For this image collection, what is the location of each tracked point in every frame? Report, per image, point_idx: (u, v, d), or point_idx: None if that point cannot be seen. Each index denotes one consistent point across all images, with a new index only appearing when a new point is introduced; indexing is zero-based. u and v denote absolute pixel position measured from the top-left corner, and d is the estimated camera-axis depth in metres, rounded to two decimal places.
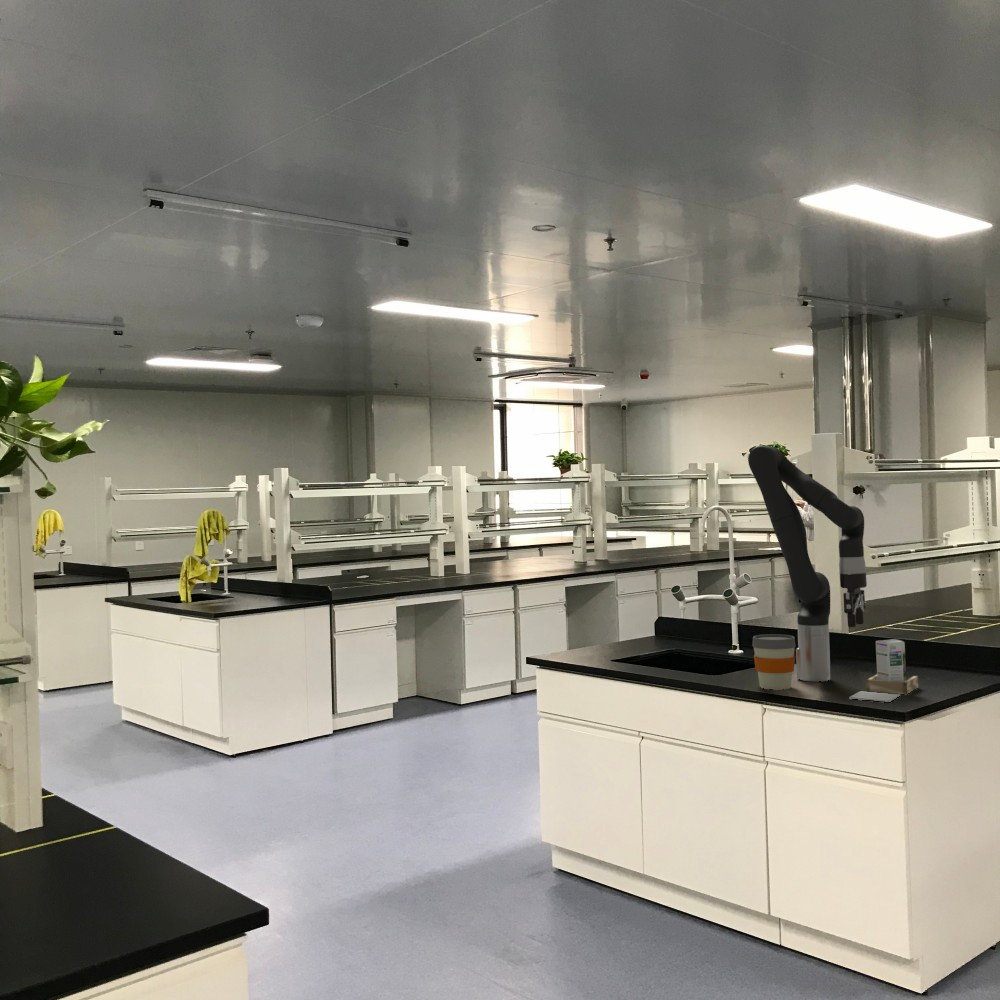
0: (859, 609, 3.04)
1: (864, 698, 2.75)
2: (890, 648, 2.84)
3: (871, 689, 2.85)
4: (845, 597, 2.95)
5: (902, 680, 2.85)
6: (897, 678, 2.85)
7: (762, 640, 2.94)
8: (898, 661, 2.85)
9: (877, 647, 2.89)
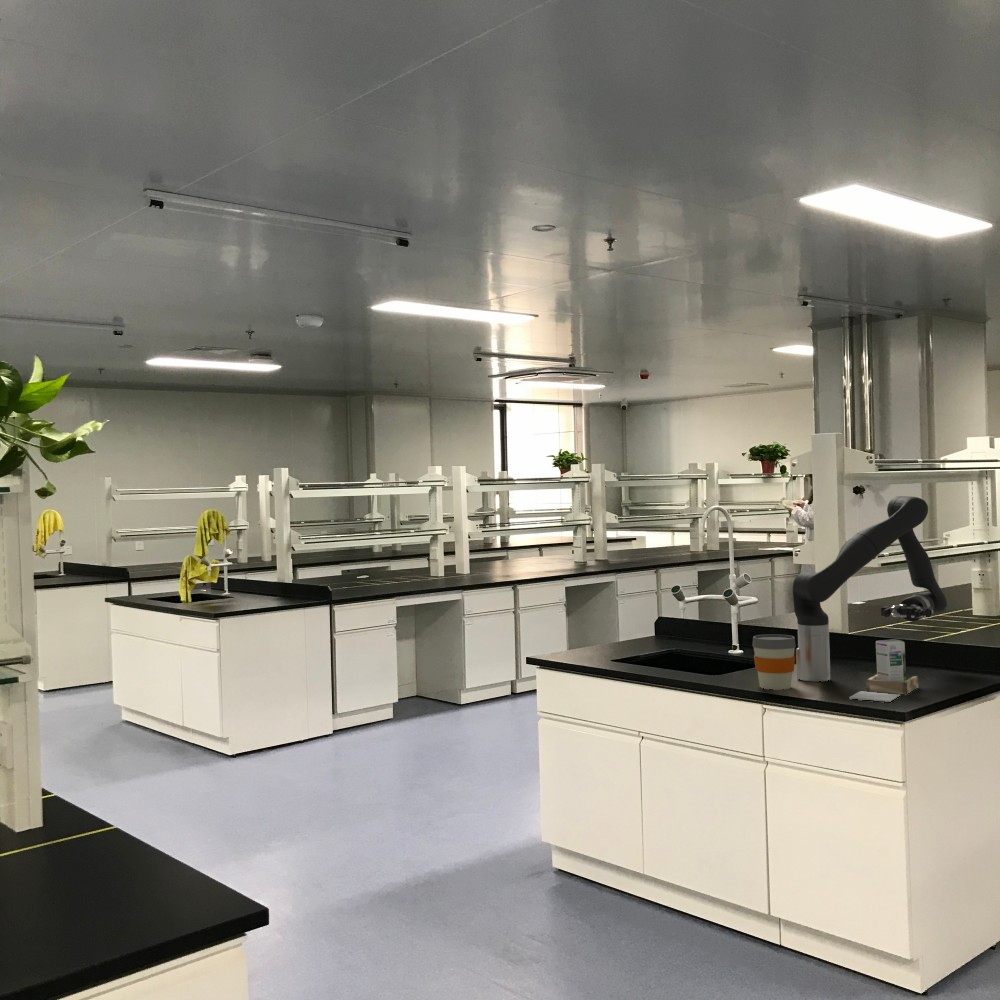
0: (890, 612, 3.02)
1: (864, 698, 2.75)
2: (890, 648, 2.84)
3: (871, 689, 2.85)
4: (932, 609, 2.99)
5: (902, 680, 2.85)
6: (897, 678, 2.85)
7: (762, 640, 2.94)
8: (898, 661, 2.85)
9: (877, 647, 2.89)
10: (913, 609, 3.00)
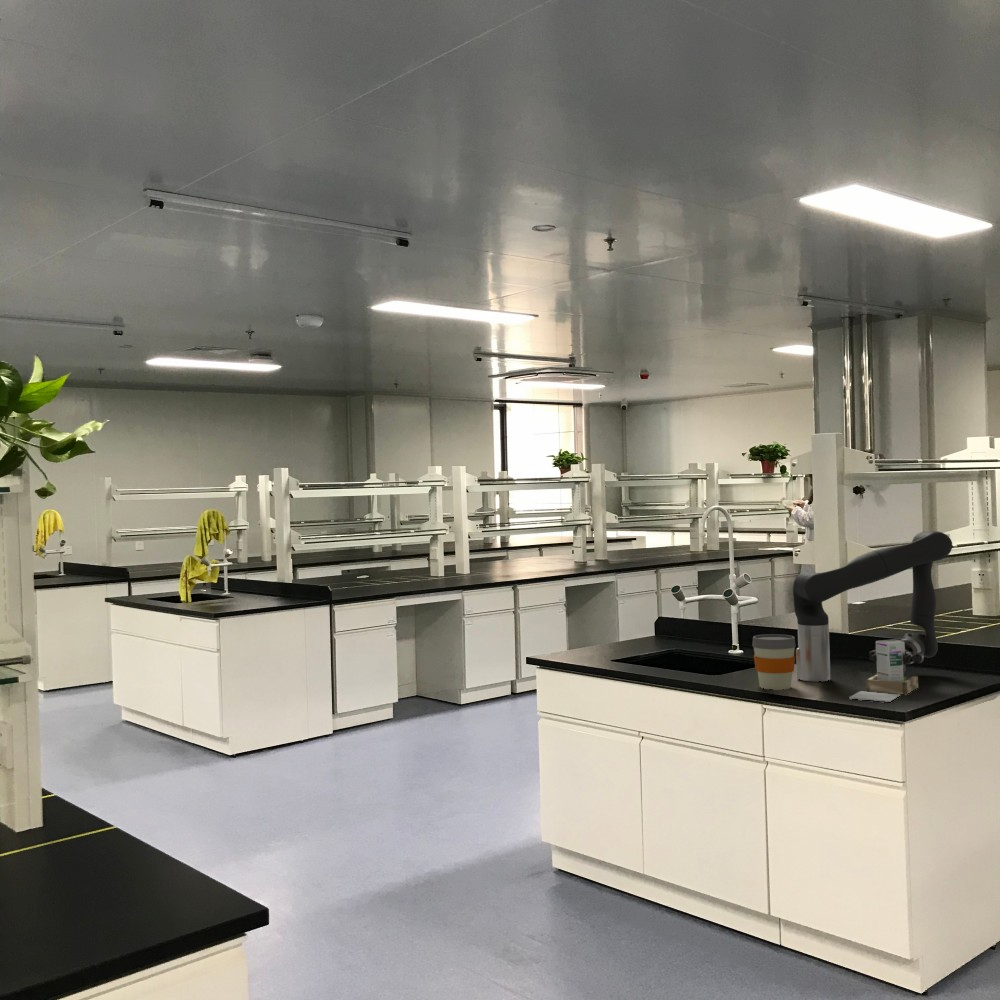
0: None
1: (864, 698, 2.75)
2: (890, 648, 2.84)
3: (871, 689, 2.85)
4: (922, 654, 2.90)
5: (902, 680, 2.85)
6: (897, 678, 2.85)
7: (762, 640, 2.94)
8: (898, 661, 2.85)
9: (877, 647, 2.89)
10: None
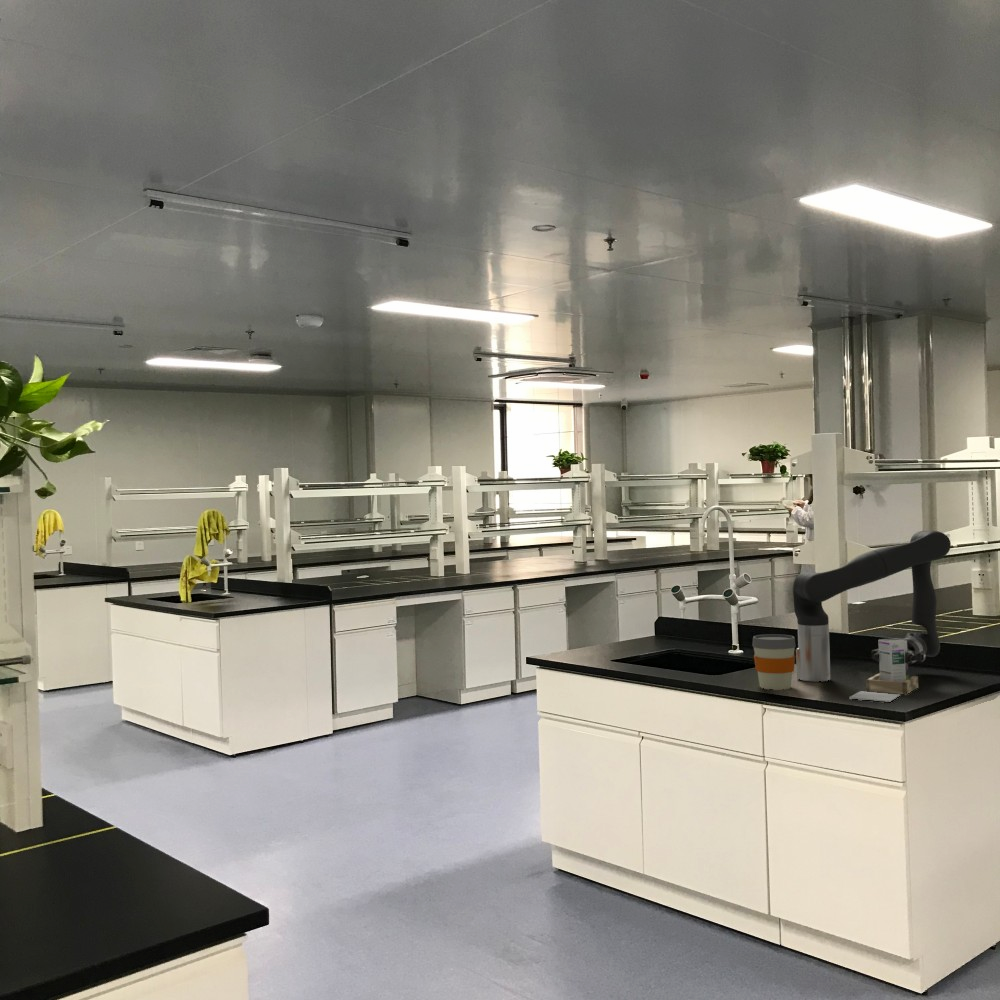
0: None
1: (864, 698, 2.75)
2: (892, 646, 2.87)
3: (871, 689, 2.85)
4: (924, 653, 2.91)
5: (904, 678, 2.87)
6: (900, 676, 2.87)
7: (762, 640, 2.94)
8: (900, 660, 2.87)
9: (880, 646, 2.91)
10: None
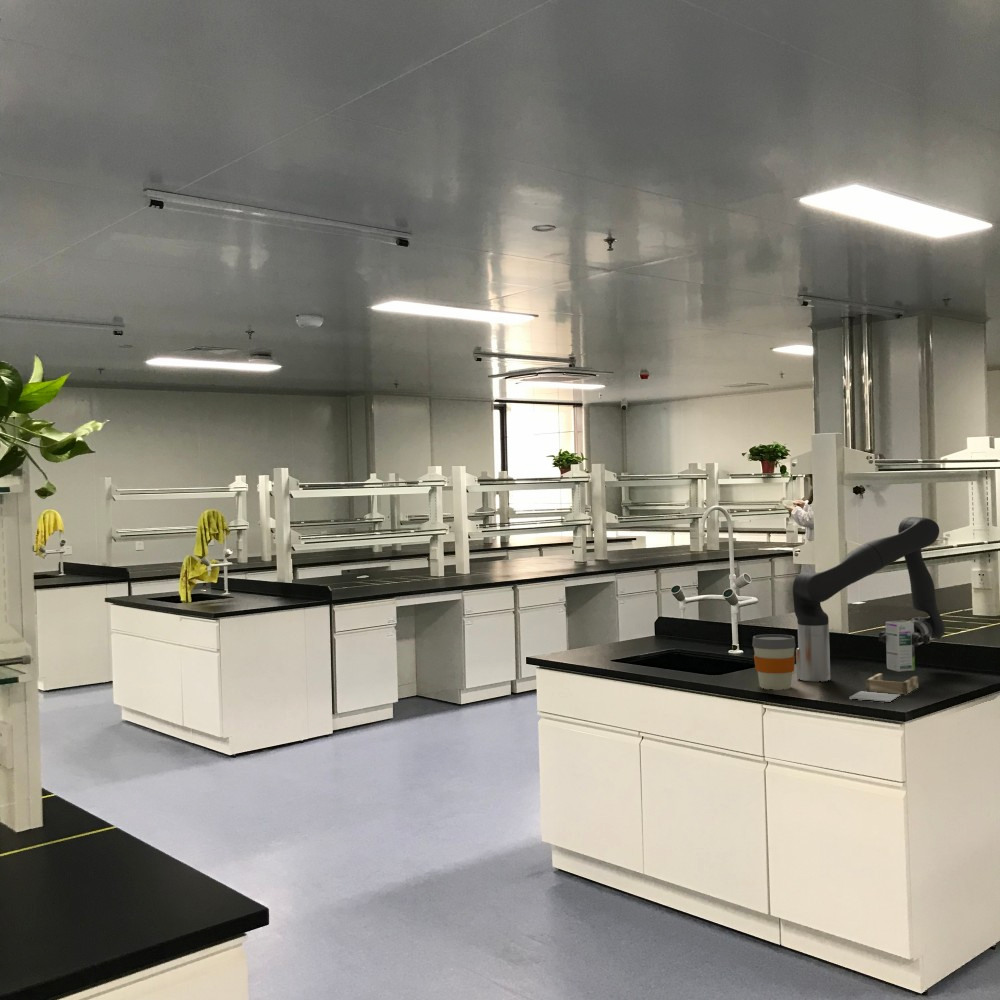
0: None
1: (864, 698, 2.75)
2: (899, 628, 2.93)
3: (871, 689, 2.85)
4: (930, 635, 2.98)
5: (911, 659, 2.94)
6: (906, 657, 2.93)
7: (762, 640, 2.94)
8: (907, 641, 2.93)
9: (887, 627, 2.97)
10: None
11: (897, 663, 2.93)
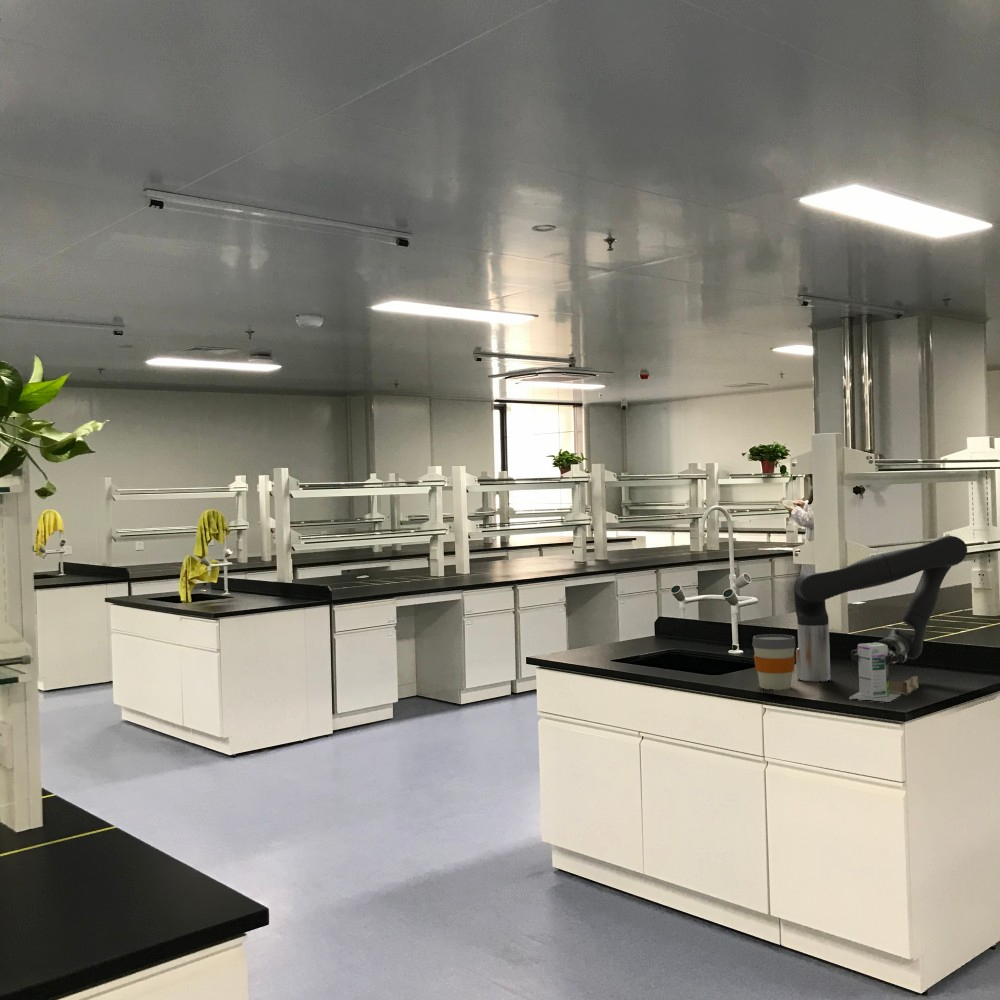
0: None
1: (864, 698, 2.75)
2: (872, 651, 2.75)
3: None
4: (905, 654, 2.79)
5: (885, 685, 2.75)
6: (880, 682, 2.75)
7: (762, 640, 2.94)
8: (880, 665, 2.75)
9: (859, 651, 2.79)
10: None
11: (870, 689, 2.75)
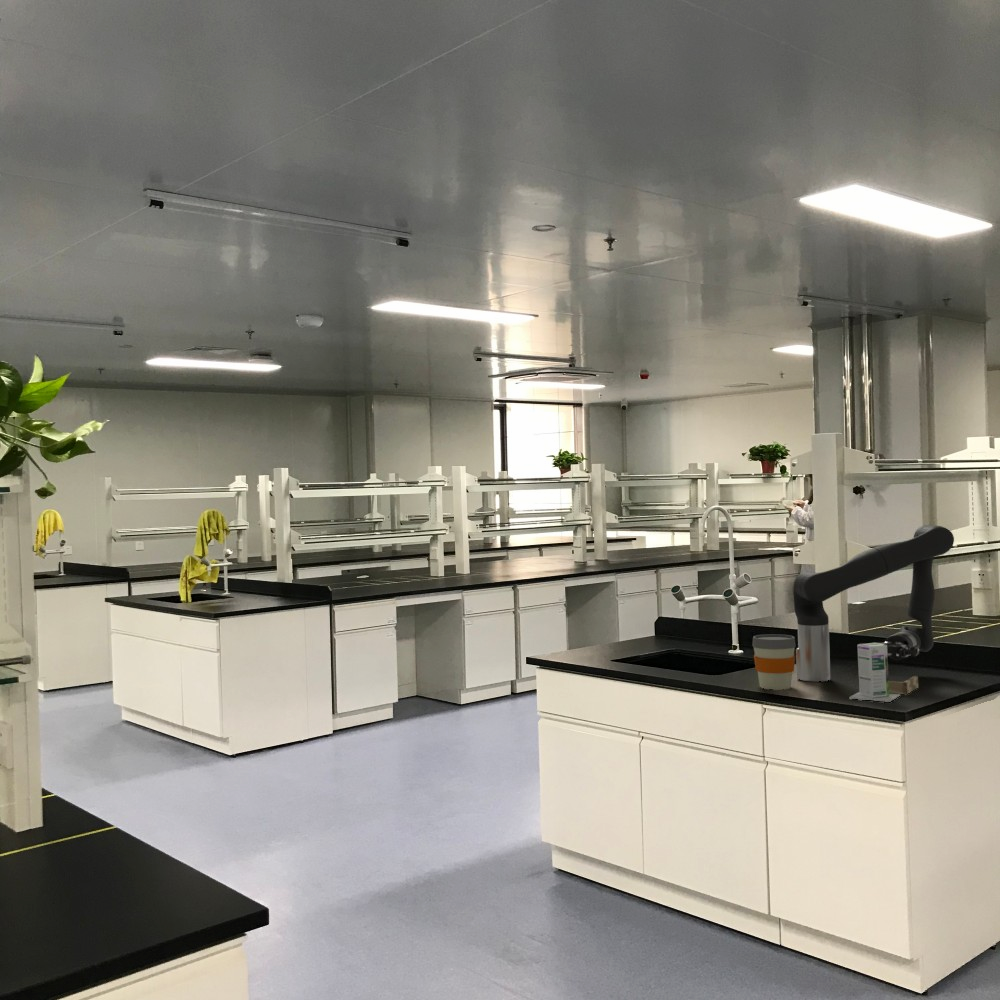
0: None
1: (864, 698, 2.75)
2: (872, 651, 2.75)
3: None
4: (918, 647, 2.90)
5: (885, 685, 2.75)
6: (880, 682, 2.75)
7: (762, 640, 2.94)
8: (880, 665, 2.75)
9: (859, 651, 2.79)
10: (898, 647, 2.90)
11: (870, 689, 2.75)
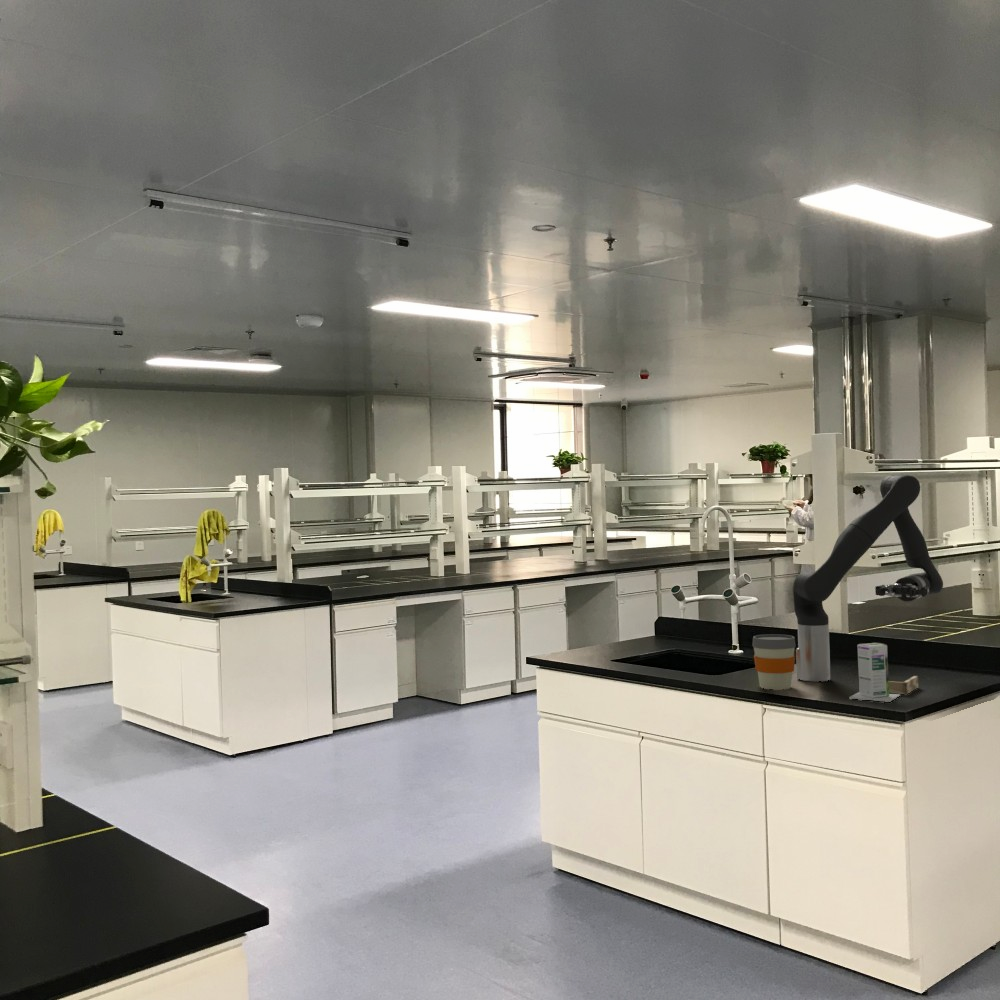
0: None
1: (864, 698, 2.75)
2: (872, 651, 2.75)
3: None
4: (928, 588, 2.93)
5: (885, 685, 2.75)
6: (880, 682, 2.75)
7: (762, 640, 2.94)
8: (880, 665, 2.75)
9: (859, 651, 2.79)
10: (908, 588, 2.93)
11: (870, 689, 2.75)
